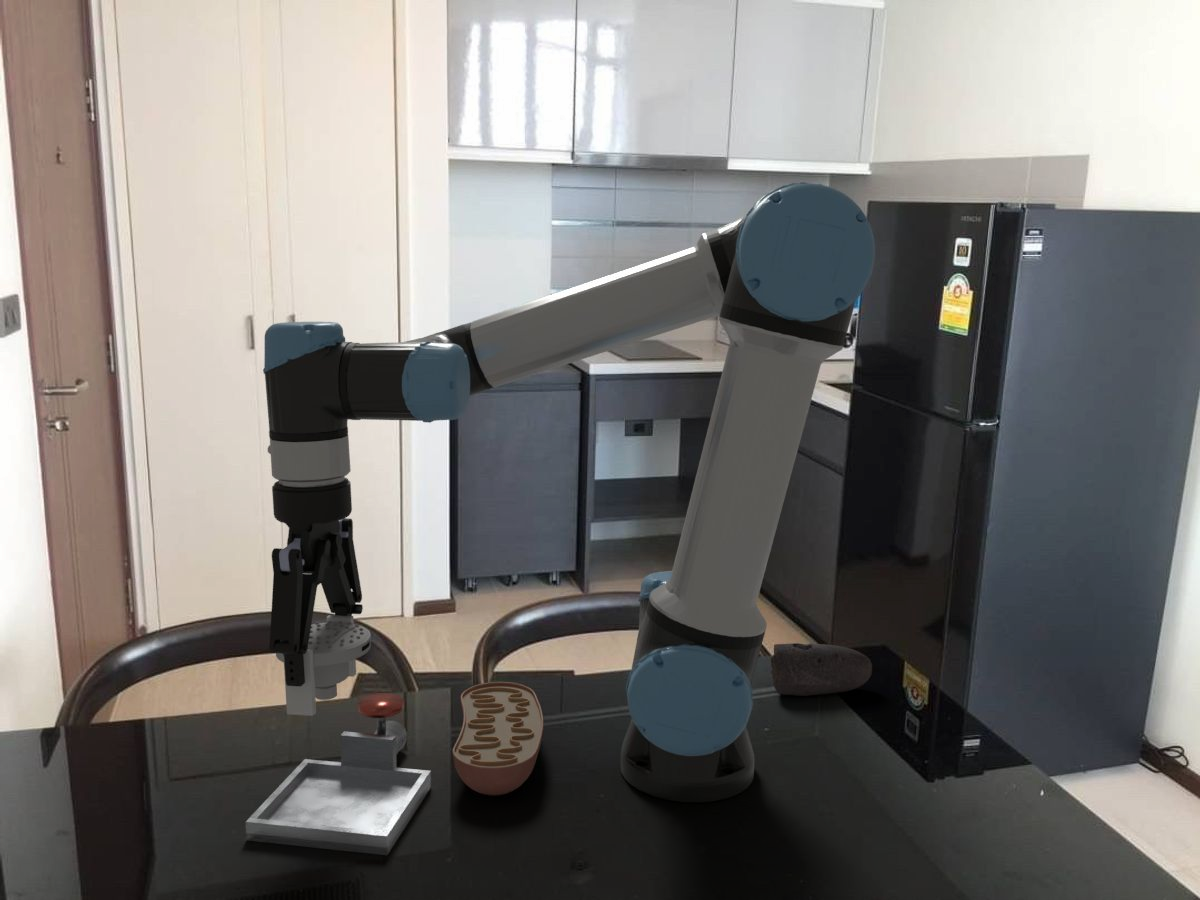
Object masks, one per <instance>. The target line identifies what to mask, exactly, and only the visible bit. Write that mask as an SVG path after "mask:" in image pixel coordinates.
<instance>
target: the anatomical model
mask: <svg viewBox="0 0 1200 900" xmlns="http://www.w3.org/2000/svg"><path fill="white" fill-rule="evenodd" d="M539 701H540V700H538V697H537V694H536V693H535V691H534V689H532V688H531V687H528V686H526V685H524V684H521V683H517V682H509V681H508V682H507V681H492V682H484V683H479V684H476V685H473V686H470V687H469V688H467V689H465V690H464V691H463V692H462V693H461V694H460V705H461V711H462V713H463V714H462V715H463V722H462V727H461V729H460V733H459V735H458V738H457V739H456V742H455V744H454V745H453V748H452V758H453V764H454V768H455V770H456V772H457V774H458V776H459V778H460V779H461V781H463V783H464V784H465V785H466V786H468V788H469V789H471V790H473V791H475V792H477V793H479V794H482V795H487V796H502V795H506V794H509V793H511V792H514V791H515V790H517V789H518V788H520V787H521V786H522V785H524V783H525V782H526V781H527V780H528V778H529V777H530V775H531V773H532V772H533V770H534V767H535V764H536V761H537V758H538V755H539V752H540V748H541V746H542V745H541V743H542V738H543V733H544V732H543V731H544V717H543V716H544V715H543V711H542V706H541V704H540V702H539Z"/></svg>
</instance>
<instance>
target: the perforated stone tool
mask: <svg viewBox="0 0 1200 900" xmlns="http://www.w3.org/2000/svg"><path fill="white" fill-rule="evenodd" d="M871 661H872V660H871V659H870V658H869V657H868V656H866V655H865V654H863V653H862V652H859V651H858V650H855V649H852V648H850V647H845V646H839V645H833V644H824V643H823V644H822V643H821V644H820V643H806V644H805V643H798V642H796V643H794V642H793V643H792V642H791V643H775V644H774V646H773V655H771V658H770V663H771V665H770V666H771V668H772V670H770V674H771V675H772V685H773V687H774V689H775V691H776V693H777V694H779V695H784V696H787V695H788V696H795V697H796V696H798V697H807V696H808V697H809V696H818V695H830V694H837V693H838V694H839V693H845V692H850V691H852V690H855V689H858V688H860V687H861V686H863V685H864V684H865V683H867V682H868V681H869V679H870V677H871V676H872V673H873V663H872V662H871Z"/></svg>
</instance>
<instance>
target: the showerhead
mask: <svg viewBox="0 0 1200 900" xmlns="http://www.w3.org/2000/svg"><path fill="white" fill-rule="evenodd" d="M371 635H372V634H371V631H370V630H369V629H368V628H366V627H364V626H362V625H359V624H355V623H354V624H352V623H342V621H339V622H330V621H327V620H326V622H319V621H316V622H314V623H311V630H310V636H309V643H308V649H312V650H313V664H314V681H315V699H317V700H320V701H326V700H327V701H328V700H331V699H335V698H336V697H337V696H338V684H340V683H342V682H344V681H345V680H347V679H348V678H349V677H350V676H349V661H351V660H354V659H359V658H361V657H362V656H364V655H365V654H367V653H368V652H369V651H370V650H371V646H372V643H371V640H372V638H371V637H372V636H371ZM275 656H276V657H275V658H277V660H278V661H280V662H281V663H284V658H283V654H282V653H275Z"/></svg>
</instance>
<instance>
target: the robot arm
mask: <svg viewBox="0 0 1200 900" xmlns="http://www.w3.org/2000/svg"><path fill="white" fill-rule="evenodd" d="M875 245H876V244H875V238H874V233H873V229H872V227H871V224H870V222H869V220H868V218H867V216H866V215H865V213H864V211H863V210H862V208H861V207H860V206H859V205H858V204H857V203H856V202H855V200H853V199H852V198H851V197H849V196H848V195H847V194H845V193H844V192H842V191H840V190H838V189H836V188H834V187H832V186H828V185H824V184H821V183H810V182H805V181H802V182H794V183H793V182H792V183H790V184H785V185H782V186H779V187H777V188H774V189H772V190H771V191H770V192H768V193H766V194H765V195H763V196H762V197H761V198H760V199H759V200H757V201H756V202H754V205H753V206H752V207H751V208H750V210H749V211H748V212H747V214H745V215H743V216H741V217H740V218H738V219H736V220H734V221H732V222H729V223H727V224H726V225H722V226H719V227H717V228H715V229H714V228H713V229H711V230H709V231H705V232H703V233H701V235H700V237H699V239H698V241H697V242H696V244H695V245H694V246H691V247H689V248H686V249H683V250H679V251H677V252H674V253H671V254H668V255H665V256H662V257H659V258H656V259H653V260H650V261H647V262H644V263H641V264H639V265H635V266H633V267H632V266H631V267H629V268H627V269H623V270H620V271H619V272H618V271H617V272H615V273H612V274H609V275H606V276H603V277H602V276H601V277H600V278H597V279H594V280H591V281H588V282H585V283H582V284H580V285H579V284H578V285H576V286H573V287H571V288H568V289H564V290H561V291H559V292H555V293H553V294H549V295H546V296H544V297H540V298H537V299H534V300H532V301H529V302H526V303H523V304H520V305H517V306H513V307H511V308H508V309H505V310H502V311H499V312H497V313H494V314H491V315H488V316H484V317H482V318H478V319H475V320H472V321H471V322H468V323H465V324H460V325H457V326H454V327H451V328H448V329H445V330H443V331H438V332H436V333H435V332H434V333H433V334H429V335H427V336H424V337H420V338H415V339H412V340H406V341H400V342H371V343H369V342H367V343H360V342H352V341H346V337H345V335H344V329H343V326H342V325H341V324H340V323H338V322H334V321H293V322H291V321H290V322H277V323H274V324H272V325H270V326H269V327H268V328H267V329H266V331H265V333H264V361H263V363H264V365H263V366H264V367H263V369H262V370H263V371H262V372H263V374H264V379H265V380H264V381H265V390H266V391H265V392H266V404H267V417H268V436H269V445H268V446H267V453H269V454H270V467H271V476H272V478H274V479H275V480H276V481H275V482H274V483H273V485H272V486H271V489H272V493H271V494H272V506H273V507H272V508H273V517H274V519H275V520H276V521H278V522H279V523H282V524H283V523H284V524H285V525H286V526H287V528H288V535H287V542H286V547H284V548H279V547H278V548H277V547H275V548H273V549H272V552H271V562H272V563H271V564H272V571H273V572H272V573H273V579H272V596H271V597H272V598H271V612H270V615H271V616H270V630H269V631H270V632H269V633H270V634H269V651H270V653H271V654H276V653H282V654H283V658H284V662H283V671H284V688H285V690H284V691H285V702H286V703H285V704H286V715H296V716H308V717H309V716H310V717H314V715H315V714H316V713H317V705H316V702H317V700H316V699H317V698H316V697H315V681H314V664H313V650H312V649H308V643H309V636H310V630H311V624H313V623H312V621H313V617H314V616H313V615H314V611H315V602H316V597H317V589H318V586H319V585H320V584H321V588H322V590H323V593H324V596H325V599H326V602H327V605H328V607H329V611H330V613H331V614H329V615H327V616H326V622H327V621H330V622H339V621H342V623H352V624H355V622H354V621H355V619H354V615H362V612H363V608H364V607H363V604H360V603H361V602H362V600H363V594H362V592H363V591H362V587H361V586H362V585H361V581H360V575H359V569H358V563H357V558H356V557H357V555H356V550H355V543H354V523H353V518H348V517H350V515H351V513H352V512H353V511H352V510H353V507H352V506H353V505H352V487H351V486H352V484H351V481H350V479H349V478H348V477H346V476H348V475H349V474H350V472H351V470H352V469H351V457H350V442H349V428H348V420H350V421H361V420H367V421H368V420H370V421H371V420H372V421H374V420H375V421H413V422H414V421H415V422H416V421H419V422H420V421H422V422H423V423H429V424H431V423H432V422H434V421H453V420H454V421H455V420H458V419H460V418H461V417H462V416H463V415H464V414H465V412H466V410H467V406H468V404H469V401H470V397H471V396H474V395H476V394H480V393H483V392H486V391H488V390H489V391H490V390H491V389H494V388H497V387H501V386H503V385H506V384H509V383H512V382H516V381H518V380H522V379H525V378H527V377H528V378H529V377H532V376H535V375H537V374H542V373H544V372H547V371H550V370H553V369H556V368H559V367H562V366H566V365H568V364H572V363H574V362H578V361H580V360H584V359H587V358H591V357H593V356H596V355H599V354H603V353H605V352H609V351H613V350H615V349H618V348H621V347H625V346H628V345H631V344H633V343H634V344H635V343H637V342H639V341H643V340H646V339H651V338H653V337H656V336H660V335H662V334H665V333H668V332H671V331H674V330H679V329H680V328H684V327H687V326H690V325H692V324H693V325H694V324H697V323H699V322H703V321H705V320H708V319H712V318H715V317H718V321H719V323H720V325H721V326H722V328H723V330H724V331H725V333H726V335H727V337H728V341H729V345H728V348H727V351H726V352H727V353H726V356H725V359H724V364H723V368H722V372H721V376H720V379H719V383H718V387H717V391H716V392H717V393H716V394H715V395H716V396H715V400H714V403H713V407H712V411H711V415H710V420H709V423H708V427H707V430H706V436H705V439H704V443H703V447H702V451H701V455H700V460H699V463H698V467H697V471H696V475H695V478H694V482H693V486H692V491H691V495H690V498H689V499H690V500H689V502H688V506H687V510H686V515H685V519H684V523H683V526H682V530H681V535H680V539H679V543H678V547H677V550H676V553H675V558H674V562H673V566H672V568H671V569H672V570H665V571H658V572H653V573H650V574H648V575H646V576H645V577H644V578H643V579H642V581H641V582H640V592H639V595H638V598H637V599H638V602H639V621H638V633H637V638H636V644H635V648H634V654H633V659H632V665H631V670H630V672H629V674H628V677H627V680H626V686H625V693H626V700H627V706H628V711H629V714H630V717H631V721H630V723H629V725H628V727H627V731H626V734H625V736H624V738H623V741H622V742H623V743H622V745H621V747H620V748H621V749H620V773H621V775H622V776H623V778H624V779H625V781H626V782H628V784H629V785H631V786H632V787H634V788H636V789H637V790H639V791H640V792H643V793H645V794H647V795H649V796H652V797H655V798H659V799H663V800H667V801H673V802H680V803H708V802H709V803H710V802H716V801H722V800H725V799H729V798H732V797H734V796H737V795H739V794H740V793H742V792H744V791H745V790H747V789H748V788H749V787H750V786H751V784H752V782H753V780H754V777H755V753H754V751H753V745H752V743H751V740H750V736H749V732H748V730H747V723H748V722H749V719H750V716H751V713H752V711H753V710H752V709H753V707H754V706H753V705H754V701H753V697H754V693H753V689H752V683H753V678H754V675H755V672H756V671H755V670H756V667H757V663H758V660H759V656H760V653H761V648H762V644H763V642H764V638H765V635H766V630H767V626H768V623H767V621H766V619H765V617H764V615H763V614H762V612H761V610H760V608H759V607H758V603H757V602H758V600H759V599H758V597H759V595H760V591H761V588H762V584H763V581H764V580H763V579H764V575H765V572H766V569H767V564H768V562H769V561H768V560H769V557H770V554H771V551H772V547H773V544H774V539H775V536H776V531H777V528H778V524H779V521H780V517H781V513H782V510H783V505H784V502H785V498H786V495H787V491H788V487H789V484H790V480H791V476H792V472H793V469H794V464H795V462H796V458H797V453H798V450H799V447H800V444H801V443H800V442H801V439H802V435H803V432H804V428H805V424H806V420H807V417H808V414H809V410H810V406H811V402H812V398H813V395H814V392H815V391H814V390H815V389H816V388H815V387H816V385H817V384H816V383H817V380H818V376H819V373H820V369H821V365H822V364H823V363H824V362H825V361H826V360H827V359H829V358H830V357H832V356H834V355H835V354H837V353H838V352H841V351H843V349H844V344H845V340H846V337H847V334H848V332H849V331H848V330H849V327H850V324H851V319H852V317H853V316H852V315H853V312H854V309H855V306H856V301H857V300H858V298H859V297H860V296H861V294H862V292H863V291H864V290H865V289H866V286H867V284H868V283H869V281H870V280H871V276H872V274H873V270H874V265H875V259H876V258H875V256H876V246H875ZM277 480H278V481H277ZM356 659H357V658H356ZM356 659H354V660H351V661H349V676H348V677H353V678H354V677H355V676H356V675H357V662H356V661H357V660H356Z"/></svg>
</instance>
